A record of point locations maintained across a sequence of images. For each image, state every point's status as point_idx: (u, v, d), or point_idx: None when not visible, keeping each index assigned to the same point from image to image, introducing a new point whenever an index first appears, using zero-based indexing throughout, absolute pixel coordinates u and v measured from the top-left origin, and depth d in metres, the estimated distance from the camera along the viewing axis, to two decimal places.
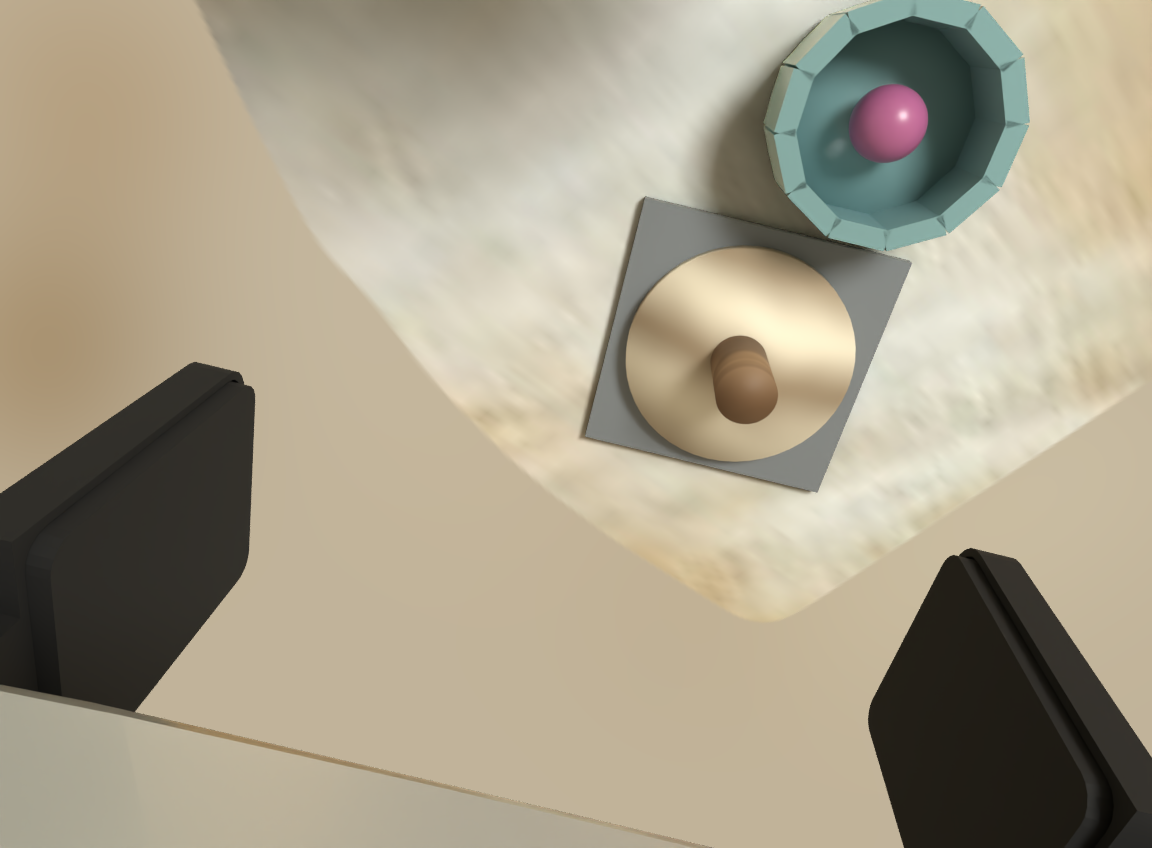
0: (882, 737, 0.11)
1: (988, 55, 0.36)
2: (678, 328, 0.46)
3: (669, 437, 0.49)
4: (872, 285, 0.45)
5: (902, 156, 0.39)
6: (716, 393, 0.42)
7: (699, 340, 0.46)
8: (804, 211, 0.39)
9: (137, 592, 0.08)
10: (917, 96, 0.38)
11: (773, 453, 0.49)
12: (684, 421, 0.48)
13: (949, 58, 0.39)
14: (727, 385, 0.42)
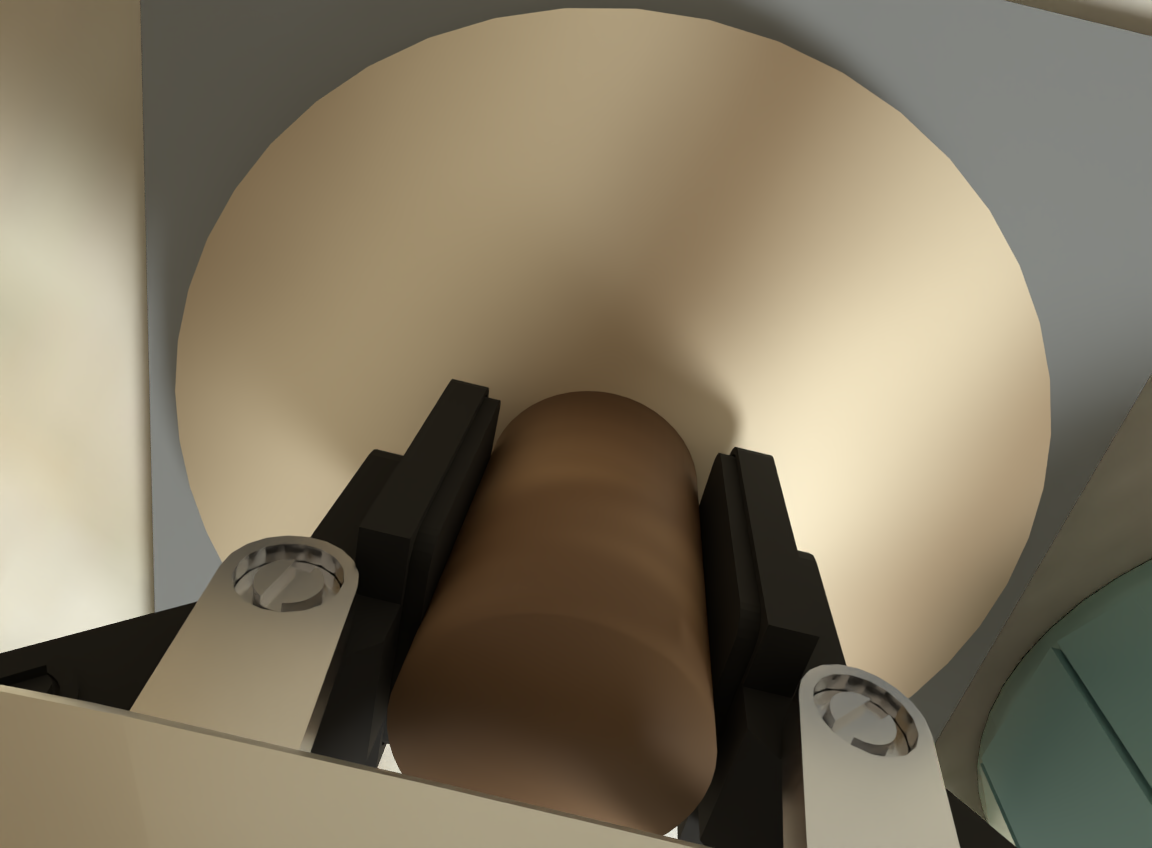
0: None
1: None
2: (735, 259, 0.11)
3: (227, 239, 0.11)
4: None
5: None
6: (554, 614, 0.07)
7: (678, 346, 0.11)
8: None
9: None
10: None
11: None
12: (314, 300, 0.11)
13: None
14: (610, 667, 0.07)
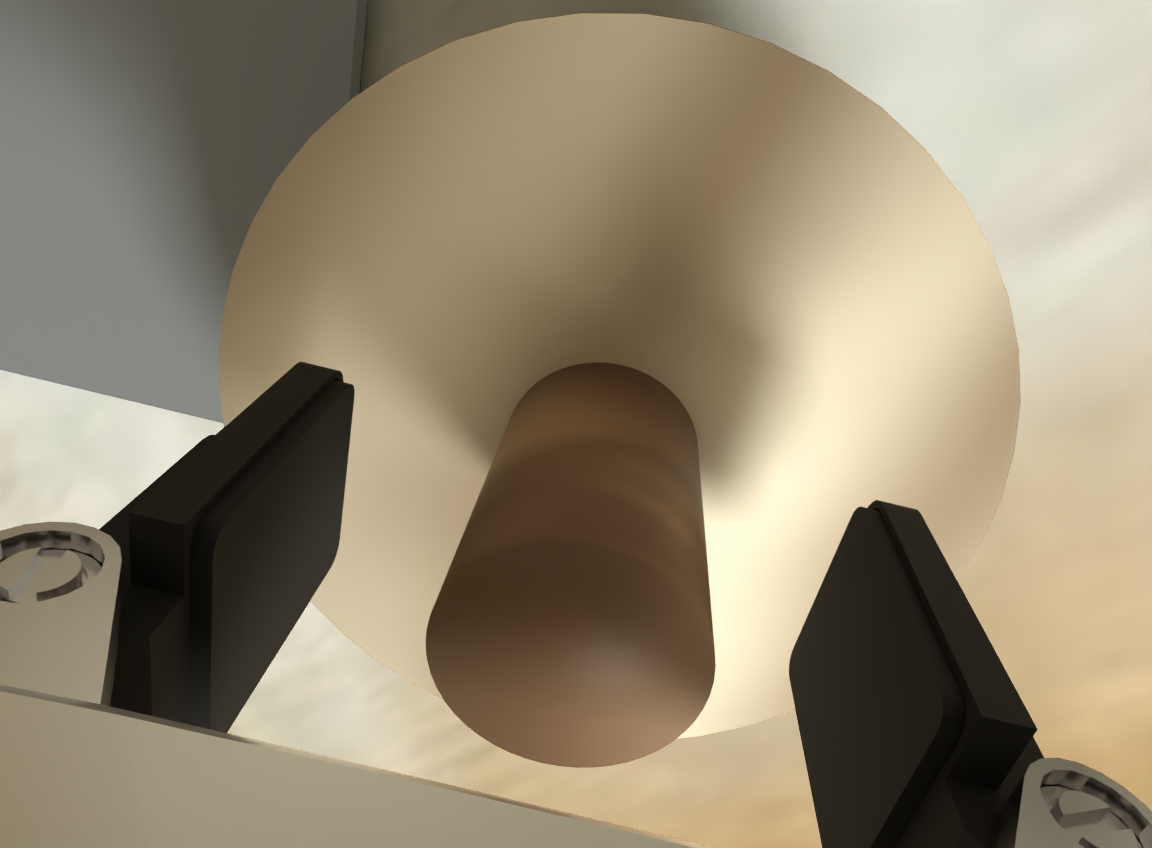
0: (798, 681, 0.11)
1: None
2: (732, 240, 0.12)
3: (269, 223, 0.12)
4: None
5: None
6: (574, 542, 0.08)
7: (681, 320, 0.12)
8: None
9: (265, 576, 0.09)
10: None
11: None
12: (348, 279, 0.12)
13: None
14: (623, 588, 0.08)
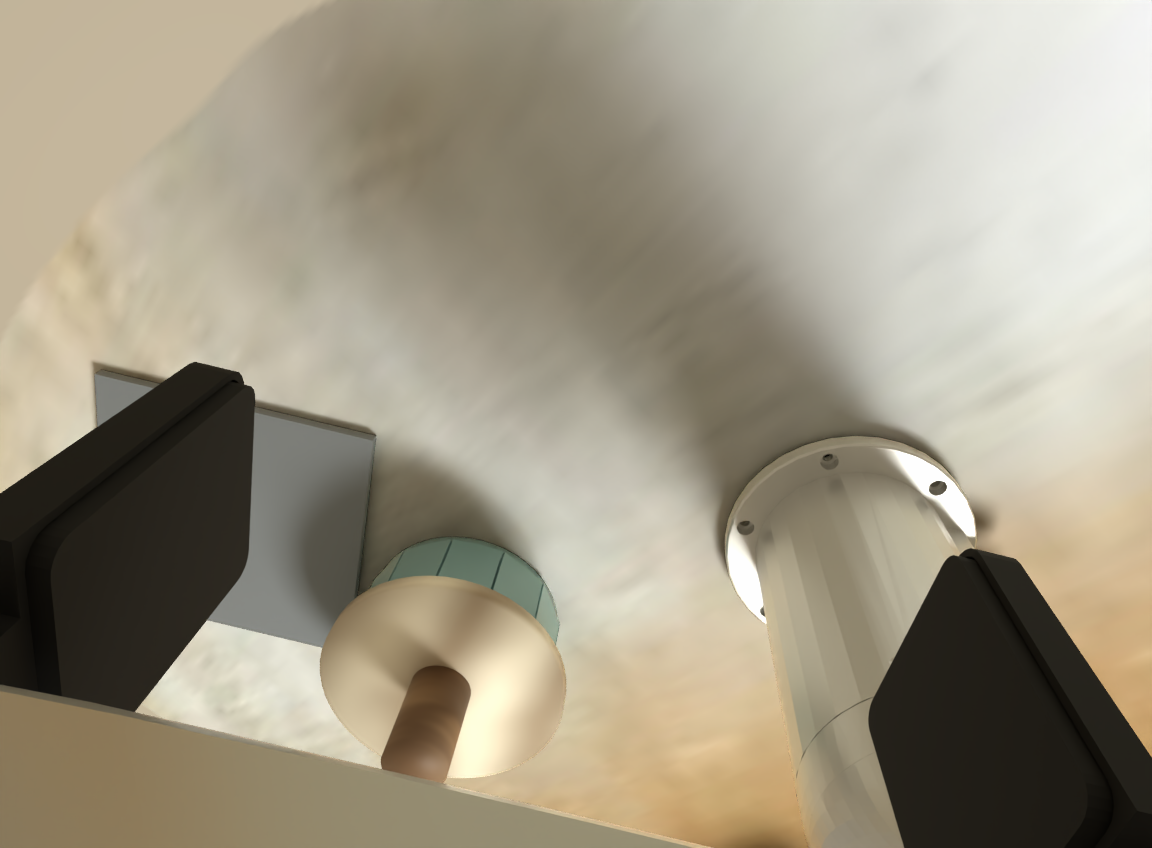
0: (882, 737, 0.11)
1: None
2: (472, 637, 0.41)
3: (338, 627, 0.41)
4: (322, 627, 0.48)
5: None
6: (413, 741, 0.37)
7: (460, 656, 0.41)
8: None
9: (137, 592, 0.08)
10: None
11: (340, 718, 0.44)
12: (361, 641, 0.41)
13: None
14: (424, 751, 0.37)
